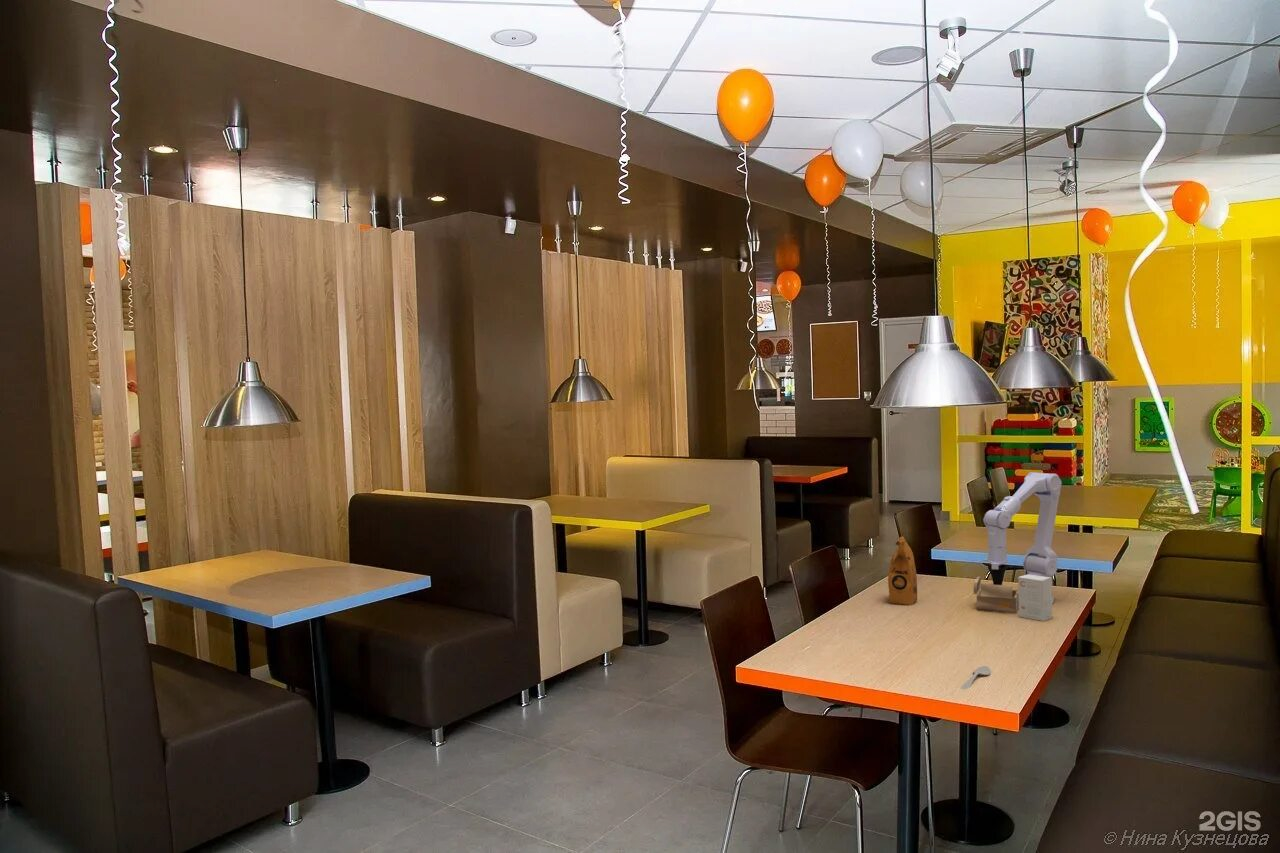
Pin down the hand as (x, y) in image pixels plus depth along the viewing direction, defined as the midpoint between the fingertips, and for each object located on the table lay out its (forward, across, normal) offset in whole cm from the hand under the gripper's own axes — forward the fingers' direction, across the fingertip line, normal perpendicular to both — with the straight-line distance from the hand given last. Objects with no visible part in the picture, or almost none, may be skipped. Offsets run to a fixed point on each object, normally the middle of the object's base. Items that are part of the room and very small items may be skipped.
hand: (997, 587), depth 290 cm
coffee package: (+8, 0, -31) cm, 32 cm away
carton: (+7, -2, 0) cm, 8 cm away
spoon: (+8, +78, +2) cm, 79 cm away
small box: (+8, +7, +12) cm, 16 cm away
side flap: (0, -2, -6) cm, 7 cm away
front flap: (0, +4, 0) cm, 4 cm away
